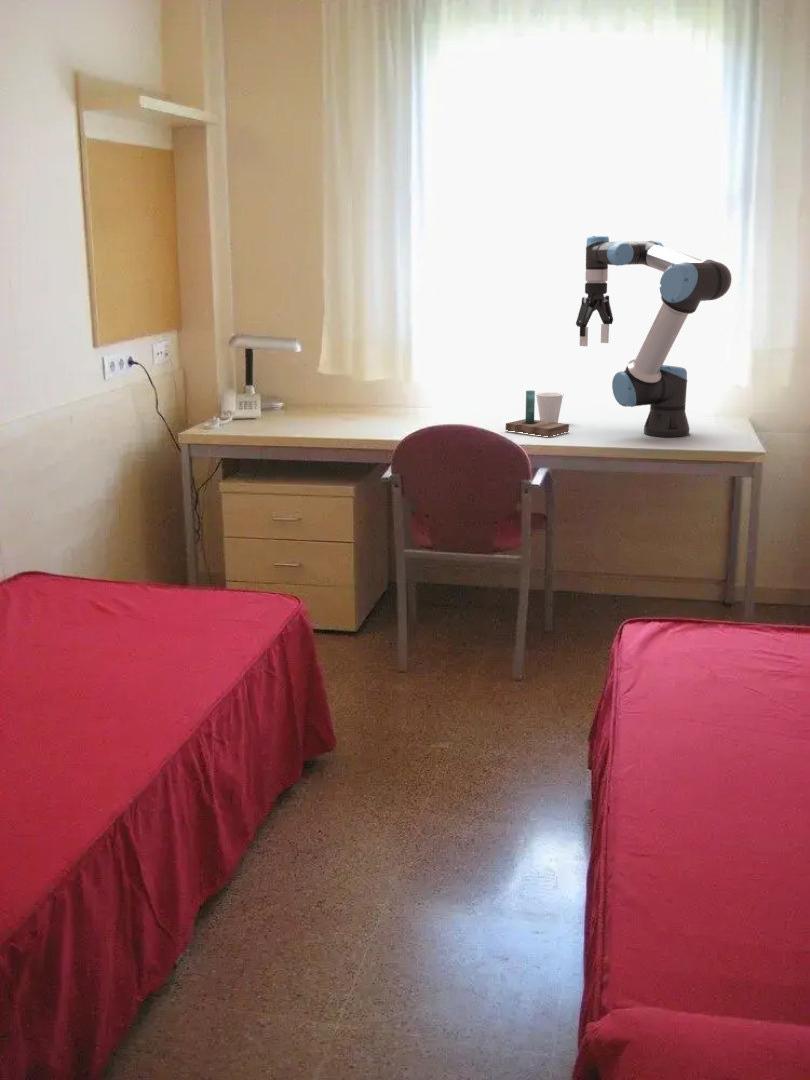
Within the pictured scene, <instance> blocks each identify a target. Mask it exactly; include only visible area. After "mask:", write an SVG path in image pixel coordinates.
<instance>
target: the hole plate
mask: <svg viewBox="0 0 810 1080" xmlns="http://www.w3.org/2000/svg"><path fill="white" fill-rule="evenodd" d="M525 422H526V418H524V419H520V420H515V421H510V422H506V423H505V431H506V430H508V431H515V432H523V433H528V434H535V435H541V436H548V437H550V436H553V435H557V434H561V433H564V432H568V431H569V432H570V424H569V423H563V422H558V423H556V422H547V421H540V419H538V420H537V419H534V424H525ZM548 437H547V438H548ZM550 438H551V437H550Z"/></svg>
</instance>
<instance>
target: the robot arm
mask: <svg viewBox="0 0 810 1080" xmlns="http://www.w3.org/2000/svg"><path fill="white" fill-rule="evenodd" d="M585 246H586V247H585V277H584V278H585V283H584V294H586V295H587V296H586V297H585V296H584V297H582V298H581V304H580V308H579V311H578V314H577V318H576V321H575V325H576V327H578V328H579V347H588V340H589V339H588V338H589V335H588V334H589V327H588V326H587V325H588V323H589V321H590V320H591V317H592V315H593V313H594V312H595V311H597V312H598V314H599V315H598V316H599V317H600V319H601V320H600V321H602V323H601V324H600V327H601V328H600V344H609V338H610V337H609V336H610V325H612V324H613V322H614V317H613V311H612V308H611V304H610V296H609V295H606V294H607V292H608V283H607V281H608V278H609V277H608V275H609V274H608V273H609V269H608V268H609V265H610V266H616V267H617V266H618V267H619V266H626V265H627V266H629V265H645V266H646V267H650V268H653V269H655V270H658V271H660V272H663V273H662V276H661V277H660V281H659V285H660V286H659V293H660V295H661V296H660V298H661V302H662V304H661V306H660V308H659V311H658V313H657V315H656V316H655V319H654V321H653V322H652V325H651V326H650V329H649V331H648V333H647V335H646V338H645V339H644V342H643V343H642V345H641V347H640V349H639V352H638V354H637V356H636V357H635V359H632V360H630V361H629V362H628V364H627V366H626V367H625V369H624V370H623V371H622V370H621V371H618V372H616V374H614V376H613V378H612V381H611V382H612V384H611V385H612V386H611V389H612V394H613V397H614V399H615V401H616V402H617V403H618V404H619V405H620V406H622V407H628V408H629V407H631V408H635V407H640V406H650V407H649V409H650V410H649V413H648V415H647V418H646V421H645V423H644V427H643V433H644V434H645V435H647V436H652V437H658V438H659V437H660V438H679V437H686V436H688V435H690V425H689V420H688V417H687V413H686V402H687V387H688V386H687V385H688V372H687V369H685V368H684V367H681V366H676V365H665V364H664V363H665V361H666V359H667V356H668V354H669V353H670V351H671V349H672V348H673V345H674V343H675V341H676V339H677V337H678V335H679V334H680V331H681V329H682V327H683V325H684V324H685V321H686V319H687V317H688V315H690V314H694V313H695V312H696V311H697V309H698V307H699V305H700V303H701V302H706V301H716V300H717V299H720V298H722V297H723V296H725V294H726V293H727V292H728V291H729V289H730V287H731V285H732V279H733V278H732V273H731V271H730V270H729V268H728V267H727V266H726V265H725V264H723V263H722V262H718V261H716V260H712V259H705V260H702V259H699V258H697V257H694V256H691V255H688V254H685V253H682V252H679V251H676V250H674V249H670V248H667V247H665V246H664V245H663V243H662V242H660V241H656V240H647V241H610V239H609V236H608V235H589V236H587V238H586V245H585Z"/></svg>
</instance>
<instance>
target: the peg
mask: <svg viewBox="0 0 810 1080" xmlns="http://www.w3.org/2000/svg"><path fill="white" fill-rule="evenodd" d="M535 395H536V391H535V390H525V419H526V422H525V424H534V420H535V407H536V406H535V402H536V401H535V399H536V397H535Z"/></svg>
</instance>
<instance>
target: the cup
mask: <svg viewBox="0 0 810 1080" xmlns="http://www.w3.org/2000/svg"><path fill="white" fill-rule="evenodd" d="M535 395H536V402H537V408H538V409H537V410H538V415H539V421H547V422H556V423H559V418H560V412H561V408H562V402H563V397H564V393H562V392H556V391H543V392H535Z"/></svg>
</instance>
